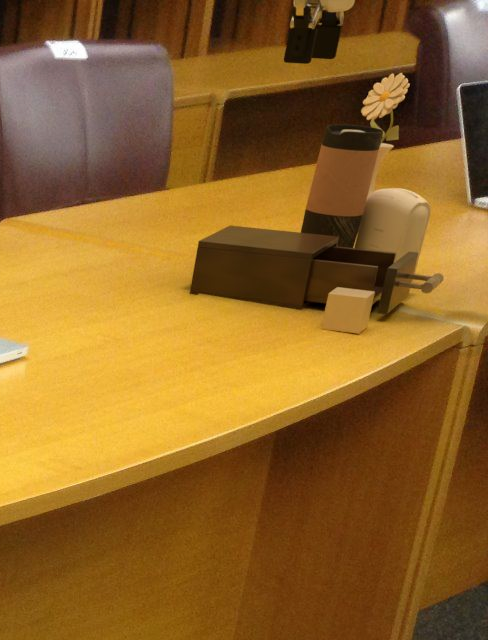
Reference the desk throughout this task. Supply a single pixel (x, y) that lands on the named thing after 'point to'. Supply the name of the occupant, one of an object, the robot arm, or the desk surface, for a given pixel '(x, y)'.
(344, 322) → the block
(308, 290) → the drawer
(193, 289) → the cabinet
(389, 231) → the photo printer
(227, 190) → the desk surface
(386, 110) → the flower in vase
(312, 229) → the travel mug
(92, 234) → the desk surface
